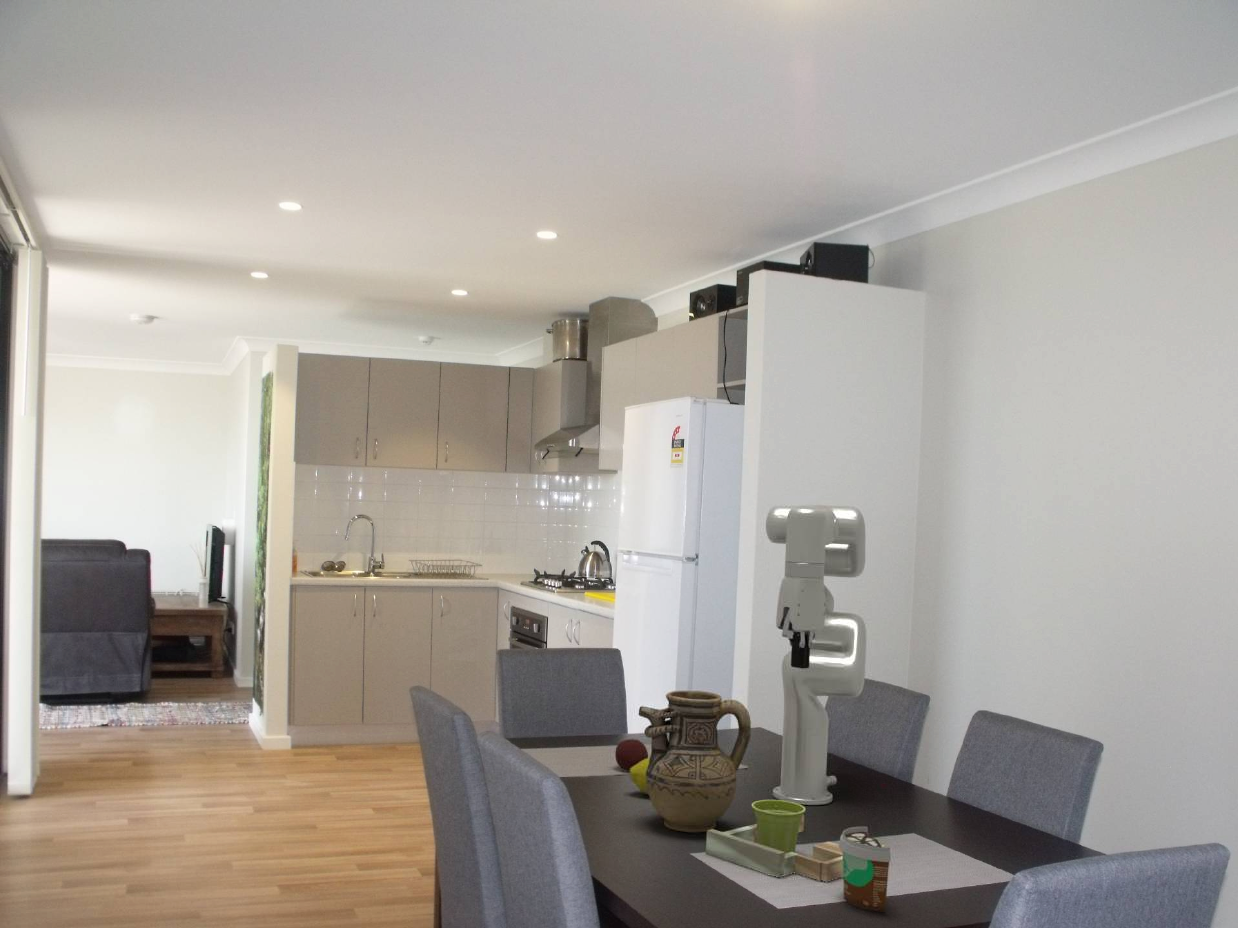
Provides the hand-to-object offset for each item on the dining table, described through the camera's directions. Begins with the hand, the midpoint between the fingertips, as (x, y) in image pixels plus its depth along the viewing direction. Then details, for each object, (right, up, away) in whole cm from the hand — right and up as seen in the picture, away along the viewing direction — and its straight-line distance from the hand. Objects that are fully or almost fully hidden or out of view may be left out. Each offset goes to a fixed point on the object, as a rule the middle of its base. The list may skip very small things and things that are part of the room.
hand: (799, 667), depth 216 cm
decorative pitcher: (-21, -30, -2) cm, 37 cm away
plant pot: (-7, -30, -18) cm, 36 cm away
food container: (+3, -30, -39) cm, 49 cm away
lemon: (-27, -31, +20) cm, 46 cm away
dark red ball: (-32, -31, +42) cm, 61 cm away
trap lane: (-2, -30, -17) cm, 35 cm away
